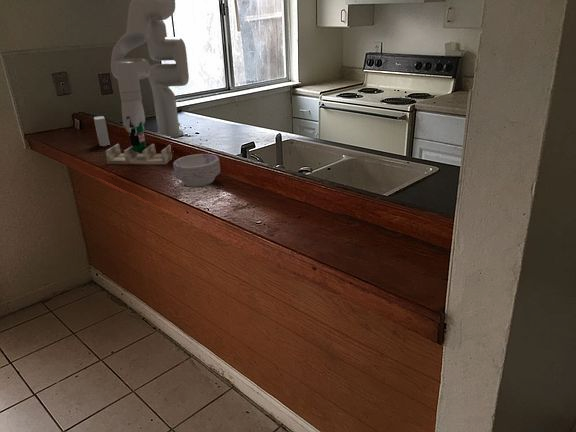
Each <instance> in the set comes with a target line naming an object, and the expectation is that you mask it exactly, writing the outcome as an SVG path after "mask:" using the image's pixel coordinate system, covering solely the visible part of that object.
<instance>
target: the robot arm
mask: <svg viewBox="0 0 576 432" xmlns="http://www.w3.org/2000/svg"><path fill="white" fill-rule="evenodd" d="M175 10H176V1H175V0H131V1H130V2H129V5H128V13H127V22H126V23H127V25H126V31H125V33H124V34H123V35H122V36H121V37H120V38H119V40H117V41H116V44H115V45H114V46H113V48H112V50H111V51H112V52H111V59H110V70H111V74H112V75H113V78H115V79H117V85H118V90H119V96H120V101H121V116H122V125H123V128H124V129H125V131H126V132H127V134H128V136H129V139H130V147H131V146H139V145H140V143H139V137H138V135H137V127H138V126H139V123H140V122H142V123H143V130H144V136H145V143H146V142H147V139H146V133H145V132H146V129H145V123H146V114H145V109H144V105H143V102H142V101H143V96H142V90H141V84H140V80H144V79H147V78H148V81H149V84H150V87H151V91H152V96H153V104H154V110H155V118H156V125H157V132H156V133H159V134H163V135H167V136H171V137H175V138H178V137H181V136H183V135H184V131H183V130H181V129H180V126H181V123H180V122H179V116H178V108H177V101H176V95H175V93H174V91H173V90H172V89H171V88H170V87H183V86H184V87H185V86H187V85H188V83H189V80H190V77H189V76H190V75H189V67H188V66H189V65H188V54H187V47H186V44H185V42H184V40H183V39H182V38H181V37H177V36H172V37H171V36H169V37H168V35H167V34H168V33H167V27H166V23H165V22H164V21H166V20H167V19H169V18H170V17H171V16H173V15H174V14H175ZM145 43H146V44H147V50H148V54H149V57H150V59H151V60H153V61H156V62H157V61H158V62H160V61H161V62H162V61H163V62H164V61H174V63H155V64H152V65H151V64H150V62H149V61H148V60H147V59H145V58H141V57H139V58H137V57H136V58H133V57H132V58H131V57H130V58H125V56H126V55H127V54H128V53H130V51H132V50H134V49H136V48H138V47H140V46H141V45H144V44H145ZM131 126H133V127H131ZM132 129H134V131H133V130H132Z"/></svg>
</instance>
